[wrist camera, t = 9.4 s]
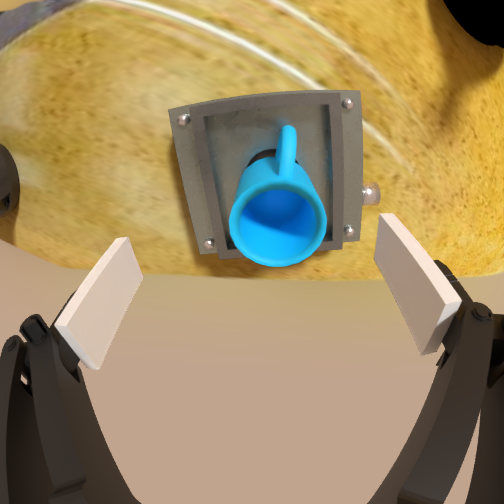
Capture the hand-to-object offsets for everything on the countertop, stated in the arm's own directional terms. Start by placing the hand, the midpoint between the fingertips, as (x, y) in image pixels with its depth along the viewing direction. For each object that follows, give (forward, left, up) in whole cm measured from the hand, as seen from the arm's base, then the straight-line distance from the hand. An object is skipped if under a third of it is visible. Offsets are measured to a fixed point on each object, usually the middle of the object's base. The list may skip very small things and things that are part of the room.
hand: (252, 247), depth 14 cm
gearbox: (+3, -2, -23) cm, 23 cm away
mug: (+2, -2, -17) cm, 17 cm away
